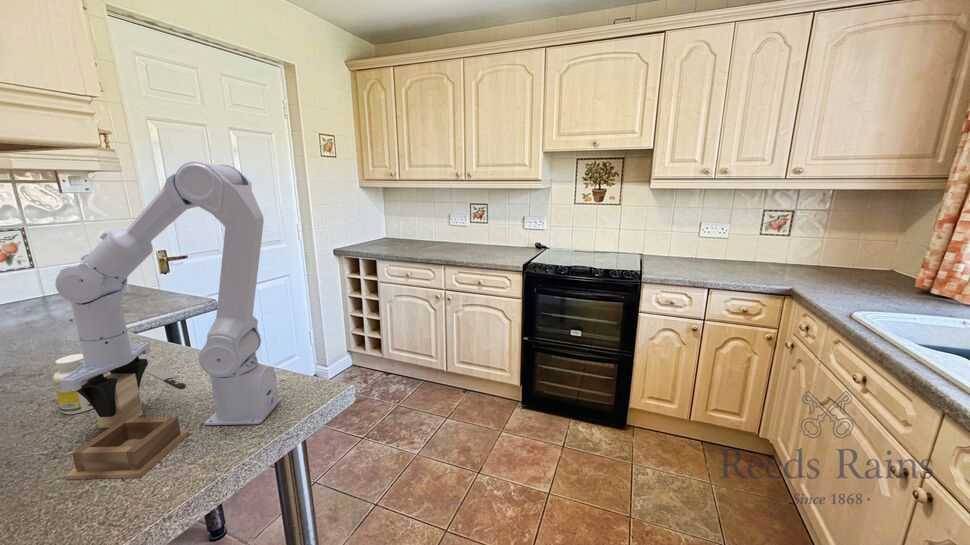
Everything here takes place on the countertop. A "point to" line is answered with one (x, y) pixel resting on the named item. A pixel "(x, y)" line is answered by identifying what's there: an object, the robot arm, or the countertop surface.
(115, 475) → the wooden peg socket
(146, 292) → the countertop surface
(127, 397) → the peg
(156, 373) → the chef's knife
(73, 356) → the supplement bottle
